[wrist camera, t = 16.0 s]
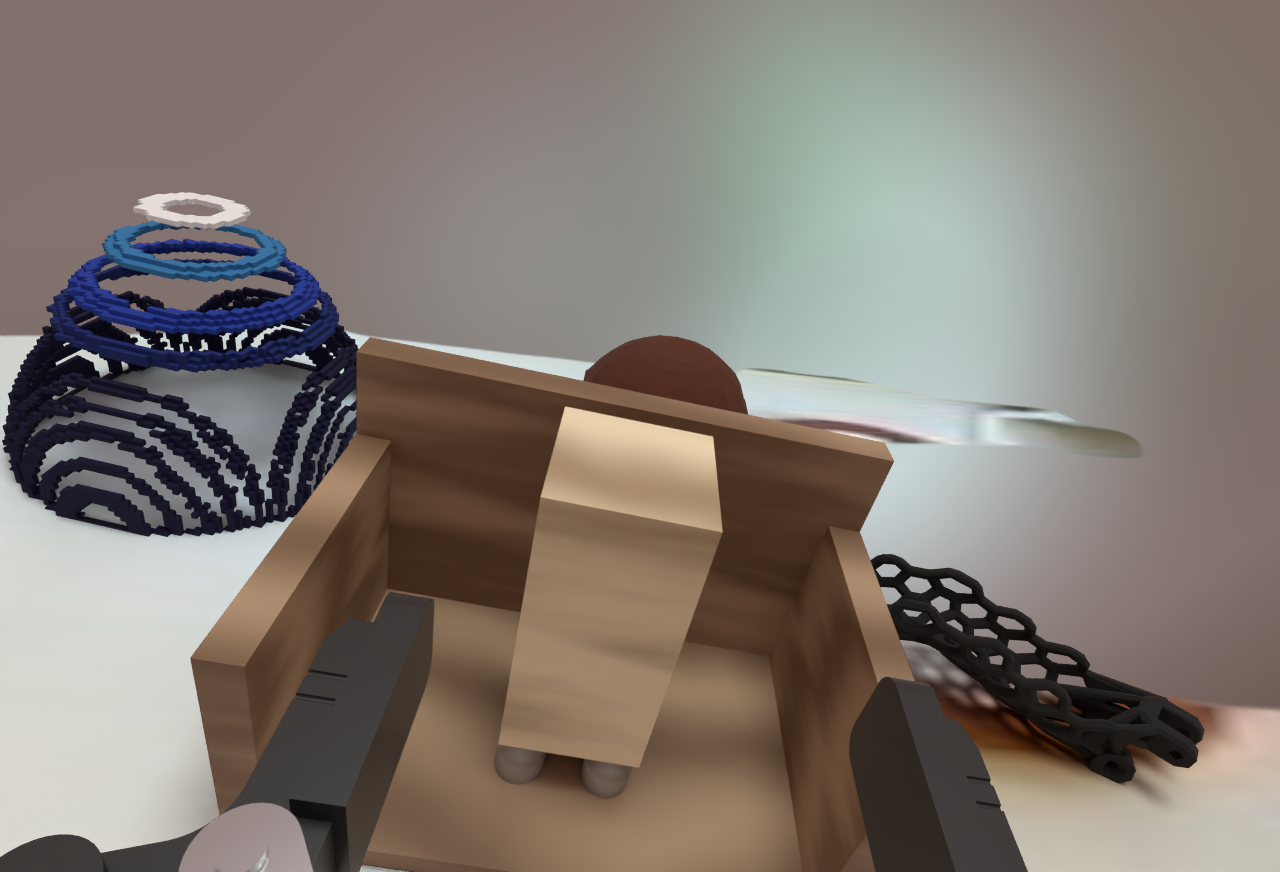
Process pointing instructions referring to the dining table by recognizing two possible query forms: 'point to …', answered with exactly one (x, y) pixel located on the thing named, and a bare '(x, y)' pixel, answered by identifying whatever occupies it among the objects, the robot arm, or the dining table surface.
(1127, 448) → the dining table surface
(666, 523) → the oak shelf block
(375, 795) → the robot arm
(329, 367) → the decorative bowl
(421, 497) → the peg frame
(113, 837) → the dining table surface
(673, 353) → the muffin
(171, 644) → the dining table surface
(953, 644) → the decorative element
